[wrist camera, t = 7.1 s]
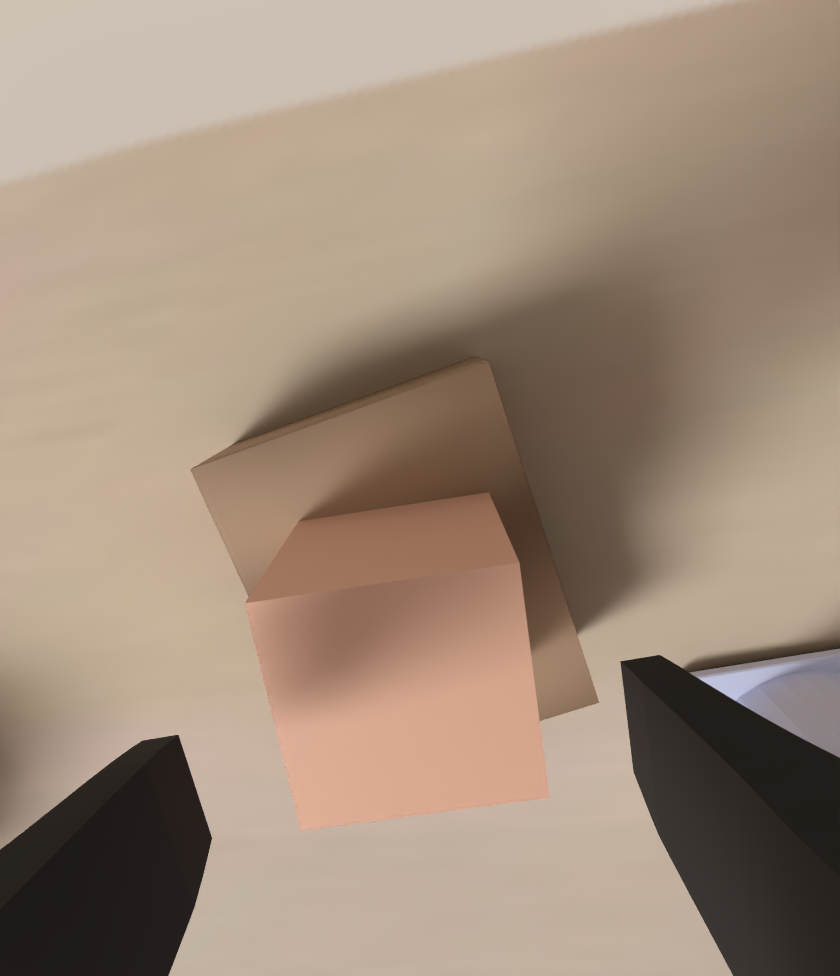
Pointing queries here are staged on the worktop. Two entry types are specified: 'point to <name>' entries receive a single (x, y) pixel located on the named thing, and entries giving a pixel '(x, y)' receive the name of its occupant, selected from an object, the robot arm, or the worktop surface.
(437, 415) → the walnut block
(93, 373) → the worktop surface
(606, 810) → the worktop surface
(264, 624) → the terracotta cube
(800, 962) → the robot arm
